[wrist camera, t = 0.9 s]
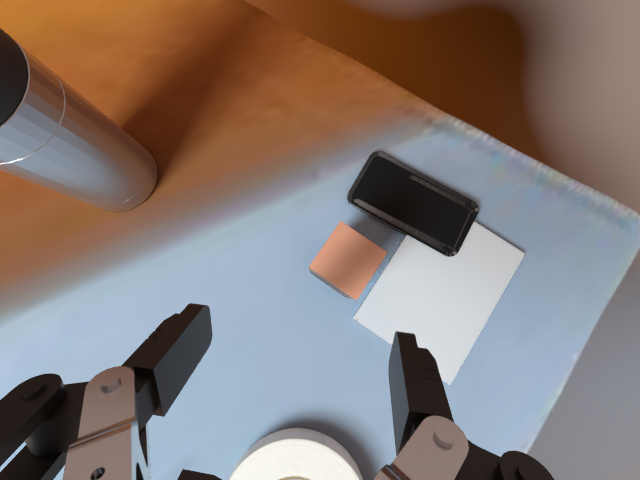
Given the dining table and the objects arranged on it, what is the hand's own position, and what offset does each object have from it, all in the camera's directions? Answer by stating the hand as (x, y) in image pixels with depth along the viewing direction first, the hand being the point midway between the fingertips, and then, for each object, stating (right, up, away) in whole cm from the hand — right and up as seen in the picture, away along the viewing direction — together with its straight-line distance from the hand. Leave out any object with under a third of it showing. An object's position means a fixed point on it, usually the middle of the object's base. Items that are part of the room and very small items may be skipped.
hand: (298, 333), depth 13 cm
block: (+3, +1, +23) cm, 24 cm away
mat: (+15, -1, +23) cm, 28 cm away
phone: (+12, +8, +25) cm, 29 cm away
